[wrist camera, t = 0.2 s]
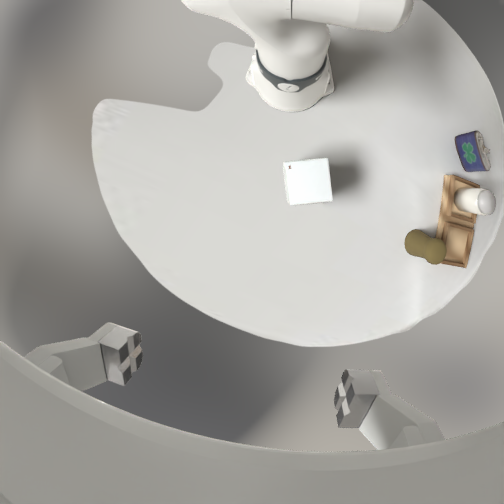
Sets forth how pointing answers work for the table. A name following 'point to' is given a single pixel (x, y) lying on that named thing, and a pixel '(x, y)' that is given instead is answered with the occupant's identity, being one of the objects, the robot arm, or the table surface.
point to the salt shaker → (475, 201)
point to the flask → (472, 152)
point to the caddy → (455, 223)
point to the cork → (425, 246)
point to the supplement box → (307, 181)
